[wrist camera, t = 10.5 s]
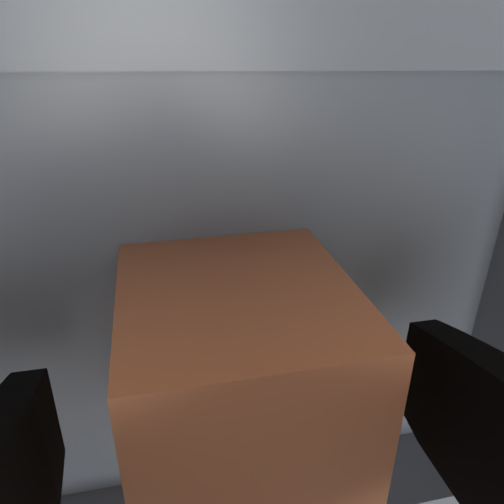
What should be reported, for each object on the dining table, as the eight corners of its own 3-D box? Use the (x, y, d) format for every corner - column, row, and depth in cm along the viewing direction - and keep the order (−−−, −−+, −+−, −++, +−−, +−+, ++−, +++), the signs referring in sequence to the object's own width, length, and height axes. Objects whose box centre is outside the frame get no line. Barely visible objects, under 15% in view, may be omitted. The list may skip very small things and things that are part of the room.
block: (139, 397, 12) (141, 597, 8) (119, 244, 10) (107, 400, 6) (299, 372, 13) (379, 540, 9) (307, 228, 11) (415, 353, 7)
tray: (-86, 533, 14) (-139, 655, 11) (-345, -22, 7) (-607, -50, 5) (459, 433, 17) (518, 506, 15) (580, 7, 11) (718, 0, 9)
